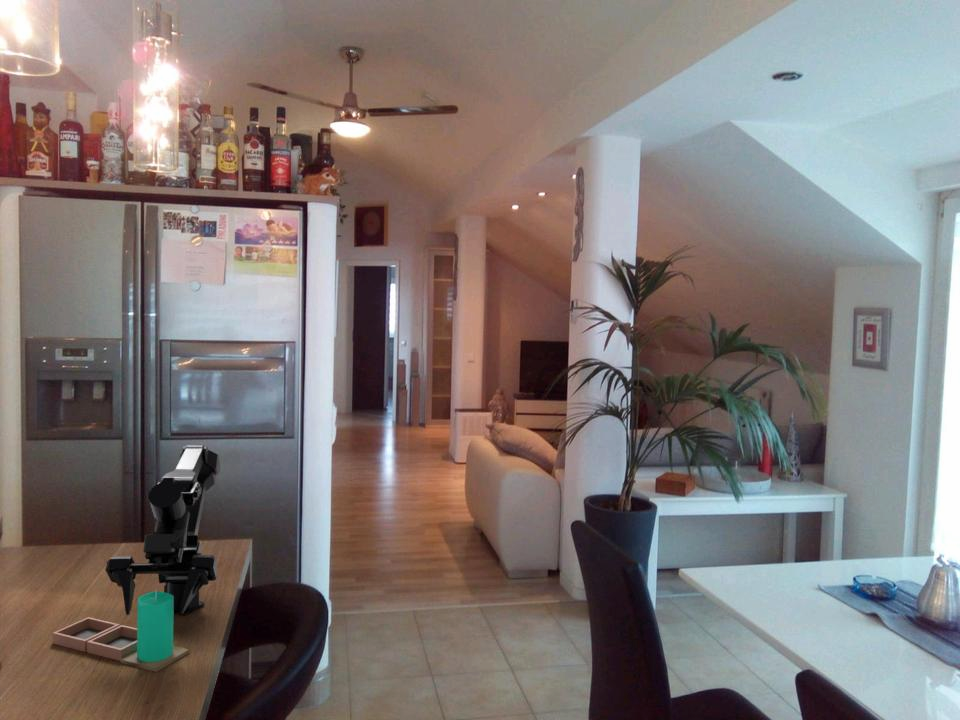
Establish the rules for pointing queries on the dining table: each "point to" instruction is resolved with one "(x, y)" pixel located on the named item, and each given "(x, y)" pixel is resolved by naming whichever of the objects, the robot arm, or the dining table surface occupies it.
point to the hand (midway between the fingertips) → (154, 613)
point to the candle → (155, 626)
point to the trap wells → (98, 638)
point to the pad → (154, 665)
